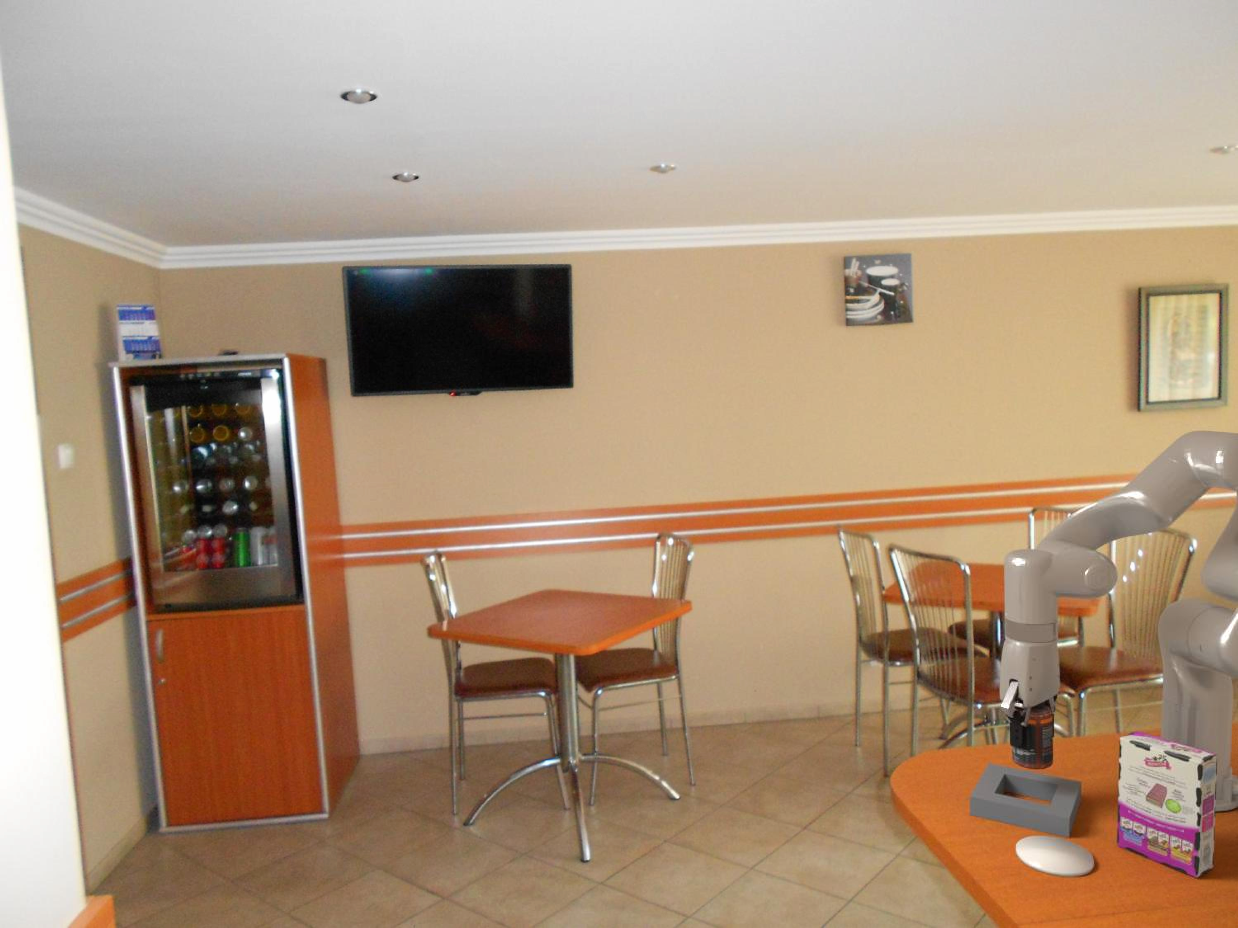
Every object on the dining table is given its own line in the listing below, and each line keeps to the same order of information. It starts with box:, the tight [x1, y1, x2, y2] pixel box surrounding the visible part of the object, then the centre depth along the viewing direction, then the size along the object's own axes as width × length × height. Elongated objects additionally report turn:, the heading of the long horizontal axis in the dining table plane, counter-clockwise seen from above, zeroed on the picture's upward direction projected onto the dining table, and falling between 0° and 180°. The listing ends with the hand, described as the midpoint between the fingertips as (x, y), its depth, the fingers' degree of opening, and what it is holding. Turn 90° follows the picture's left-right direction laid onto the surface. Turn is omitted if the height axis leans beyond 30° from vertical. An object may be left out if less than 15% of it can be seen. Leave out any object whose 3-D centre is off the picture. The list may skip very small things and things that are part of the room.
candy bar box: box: [1116, 730, 1217, 879], centre depth 129 cm, size 11×5×16 cm, turn 34°
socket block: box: [969, 763, 1082, 838], centre depth 145 cm, size 14×14×3 cm
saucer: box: [1015, 835, 1095, 878], centre depth 130 cm, size 10×10×1 cm
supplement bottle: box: [1011, 699, 1054, 770], centre depth 144 cm, size 6×6×11 cm
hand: (1032, 740), depth 144 cm, fingers closed on supplement bottle, 6 cm apart
